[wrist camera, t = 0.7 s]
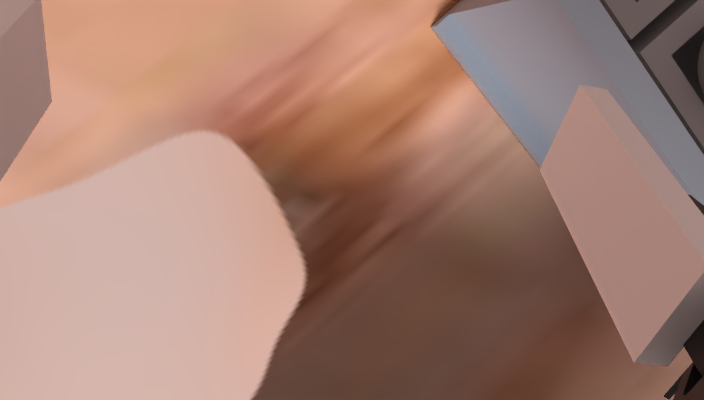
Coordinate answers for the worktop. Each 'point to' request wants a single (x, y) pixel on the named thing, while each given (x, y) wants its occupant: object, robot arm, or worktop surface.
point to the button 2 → (701, 67)
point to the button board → (668, 51)
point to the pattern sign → (562, 74)
